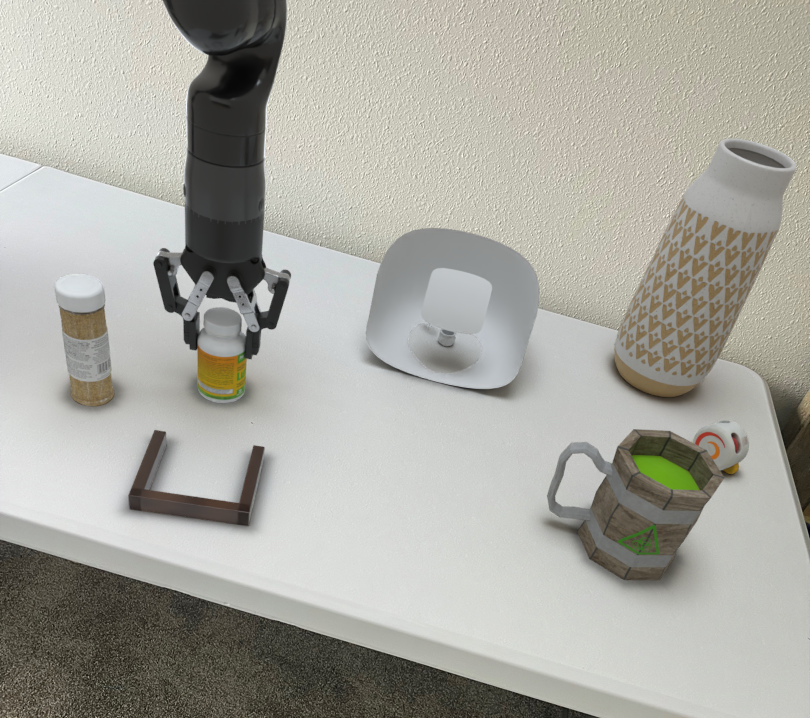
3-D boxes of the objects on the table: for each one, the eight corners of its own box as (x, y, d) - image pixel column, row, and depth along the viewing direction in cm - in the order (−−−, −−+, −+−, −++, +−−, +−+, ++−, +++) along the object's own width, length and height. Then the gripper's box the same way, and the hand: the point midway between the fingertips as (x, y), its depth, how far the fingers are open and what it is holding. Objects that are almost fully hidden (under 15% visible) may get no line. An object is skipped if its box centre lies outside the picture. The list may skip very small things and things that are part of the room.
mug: (672, 527, 88) (721, 445, 80) (674, 596, 81) (728, 513, 72) (538, 488, 89) (573, 402, 80) (527, 552, 81) (564, 465, 73)
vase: (587, 350, 113) (678, 125, 91) (666, 349, 117) (769, 134, 96) (634, 409, 104) (746, 175, 83) (716, 404, 109) (842, 182, 87)
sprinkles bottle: (95, 378, 88) (82, 267, 79) (123, 397, 87) (114, 286, 77) (61, 394, 85) (43, 280, 76) (89, 413, 84) (75, 300, 74)
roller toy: (703, 443, 101) (724, 408, 97) (741, 474, 98) (764, 438, 94) (681, 452, 99) (702, 415, 95) (719, 483, 96) (742, 446, 92)
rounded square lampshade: (520, 329, 114) (545, 252, 105) (510, 402, 100) (537, 320, 92) (387, 294, 114) (401, 214, 105) (358, 363, 100) (372, 277, 92)
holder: (129, 510, 75) (128, 495, 74) (155, 444, 82) (154, 429, 81) (248, 527, 76) (249, 512, 75) (263, 460, 84) (264, 446, 82)
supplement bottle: (243, 407, 89) (247, 333, 83) (195, 402, 88) (194, 327, 81) (246, 379, 93) (249, 306, 86) (199, 374, 92) (199, 300, 85)
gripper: (303, 198, 78) (290, 343, 90) (157, 170, 77) (163, 322, 89) (295, 231, 73) (282, 380, 85) (138, 202, 71) (147, 359, 83)
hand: (222, 350), depth 87 cm, fingers closed on supplement bottle, 5 cm apart
